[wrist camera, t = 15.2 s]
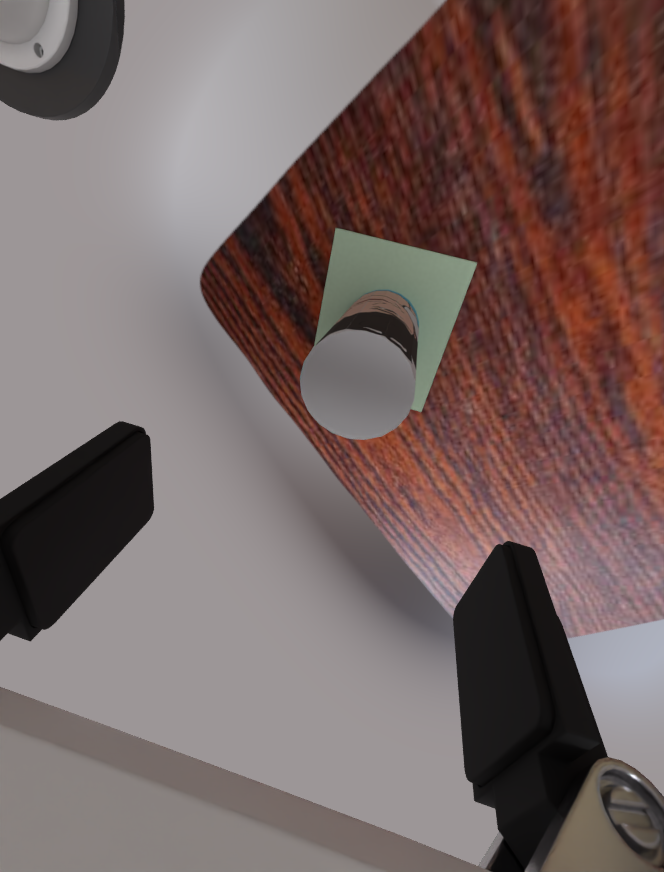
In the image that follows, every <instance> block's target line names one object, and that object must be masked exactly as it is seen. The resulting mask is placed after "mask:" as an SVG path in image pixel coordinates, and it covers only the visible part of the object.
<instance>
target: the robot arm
mask: <svg viewBox="0 0 664 872" xmlns="http://www.w3.org/2000/svg"><path fill="white" fill-rule="evenodd" d="M77 14H78V0H0V64H2V65H4V66H7V67H9V68H12V69H14V70H17V71H21V72H26V73H41V72H43V71H46V70H48V69H51V68H52V67H53V66H54V65H56V64H57V63H58V62H59V61H60V60H61V59H62V57H63V56H64V54H65V53H66V51H67V50H68V48H69V46H70V43H71V40H72V38H73V35H74V31H75V26H76V21H77ZM153 511H154V500H153V481H152V463H151V444H150V437H149V436H148V435H146V432H145V430H144V428H142V427H139V426H136V425H133V424H129V423H126V422H118V423H116V424H114V425H113V426H111V427H109V428H108V429H106V430H105V431H103V432H102V433H100V434H99V435H97V436H96V437H94V438H93V439H91V440H90V441H88V442H87V443H85V444H83V445H82V446H80V447H79V448H77V449H76V450H74V451H73V452H71V453H70V454H68V455H67V456H65V457H64V458H62V459H61V460H59V461H58V462H56V463H54V464H53V465H51V466H50V467H49V468H47V469H45V470H44V471H42V472H41V473H39V474H38V475H36V476H35V477H33V478H32V479H30V480H29V481H27V482H25V483H24V484H22V485H21V486H19V487H18V488H17V489H15V490H13V491H12V492H10V493H9V494H7V495H6V496H4V497H3V498H1V499H0V640H1V639H2V638H3V637H4V636H5V635H6V634H7V633H9V634H12V635H14V636H17V637H20V638H22V639H25V640H28V641H31V640H32V639H33V638H34V637H35V636H36V635H37V634H38V633H39V632H40V631H41V630H42V629H44V630H45V629H48V628H49V627H51V626H52V625H53V624H54V623H55V622H56V621H57V620H58V619H59V618H60V617H61V616H62V615H63V613H65V611H66V610H67V609H68V608H69V607H70V606H71V605H72V604H73V603H74V602H75V600H76V599H77V598H78V597H79V596H80V595H81V594H82V593H83V592H84V591H85V590H86V589H87V587H88V586H89V585H90V584H91V583H92V582H93V581H94V580H95V579H96V578H97V576H99V574H100V573H101V572H102V571H103V570H104V569H105V568H106V567H107V566H108V565H109V564H110V562H111V561H112V560H113V559H114V558H115V557H116V556H117V555H118V554H119V553H120V552H121V550H122V549H123V548H124V547H125V546H126V545H127V544H128V543H129V542H130V541H131V540H132V538H133V537H134V536H135V535H136V534H137V533H138V532H139V531H140V529H142V528H143V526H144V525H145V524H146V523H147V522H148V521H149V520H150V518H151V516H152V514H153ZM453 625H454V638H455V651H456V664H457V677H458V690H459V703H460V716H461V729H462V742H463V755H464V768H465V774H466V777H467V779H468V781H470V782H472V783H473V792H474V801H476V802H478V803H481V804H484V805H487V806H490V807H492V808H495V809H496V817H497V825H498V830H499V833H498V834H497V836H496V838H495V839H494V841H493V843H492V844H491V846H490V847H489V849H488V851H487V853H486V854H485V856H484V857H483V859H482V861H481V862H480V864H479V866H476V865H473V864H471V863H468V862H466V861H463V860H461V859H458V858H456V857H453V856H451V855H448V854H446V853H443V852H441V851H438V850H436V849H433V848H431V847H428V846H426V845H423V844H421V843H418V842H416V841H413V840H411V839H408V838H406V837H403V836H401V835H398V834H395V833H393V832H390V831H387V830H384V829H382V828H379V827H376V826H374V825H371V824H369V823H366V822H363V821H361V820H358V819H355V818H352V817H350V816H347V815H345V814H342V813H340V812H337V811H334V810H331V809H329V808H326V807H323V806H321V805H318V804H316V803H313V802H310V801H308V800H305V799H302V798H300V797H297V796H294V795H292V794H289V793H287V792H284V791H281V790H279V789H276V788H273V787H271V786H268V785H265V784H262V783H260V782H257V781H254V780H252V779H249V778H246V777H244V776H241V775H238V774H236V773H233V772H230V771H228V770H225V769H222V768H219V767H217V766H214V765H211V764H209V763H206V762H203V761H201V760H198V759H195V758H193V757H190V756H187V755H184V754H182V753H179V752H176V751H173V750H171V749H168V748H166V747H163V746H160V745H157V744H155V743H152V742H149V741H147V740H144V739H141V738H138V737H136V736H133V735H130V734H128V733H125V732H122V731H120V730H117V729H114V728H111V727H108V726H106V725H103V724H100V723H98V722H95V721H92V720H89V719H87V718H84V717H81V716H78V715H76V714H73V713H70V712H68V711H65V710H62V709H59V708H57V707H54V706H51V705H48V704H45V703H43V702H40V701H37V700H35V699H32V698H29V697H26V696H24V695H21V694H18V693H15V692H13V691H10V690H7V689H5V688H1V687H0V872H664V796H662V794H661V793H660V792H659V791H658V789H657V788H656V787H655V786H654V785H653V784H652V783H651V782H650V781H649V780H648V779H647V778H646V777H645V776H644V775H642V774H641V773H640V772H639V771H637V770H636V769H635V768H633V767H632V766H630V765H628V764H626V763H624V762H623V761H621V760H617V759H613V758H609V757H608V756H607V753H606V750H605V747H604V744H603V741H602V738H601V736H600V733H599V730H598V727H597V724H596V721H595V718H594V715H593V713H592V710H591V707H590V704H589V701H588V698H587V695H586V692H585V689H584V687H583V684H582V681H581V678H580V675H579V672H578V669H577V666H576V663H575V661H574V658H573V655H572V652H571V649H570V646H569V643H568V640H567V637H566V634H565V632H564V629H563V626H562V623H561V621H560V619H559V617H558V616H557V614H556V611H555V609H554V606H553V603H552V600H551V597H550V594H549V591H548V588H547V585H546V582H545V579H544V576H543V573H542V570H541V567H540V565H539V562H538V559H537V556H536V553H535V551H534V550H533V549H532V548H530V547H527V546H524V545H520V544H517V543H514V542H511V541H507V542H505V543H504V544H503V545H501V544H498V545H496V546H495V548H494V549H493V551H492V552H491V554H490V555H489V557H488V558H487V560H486V561H485V563H484V565H483V566H482V568H481V569H480V571H479V572H478V574H477V575H476V577H475V578H474V580H473V581H472V583H471V584H470V586H469V587H468V589H467V591H466V592H465V594H464V595H463V597H462V598H461V600H460V601H459V603H458V604H457V606H456V608H455V611H454V616H453Z"/></svg>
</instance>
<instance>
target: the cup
mask: <svg viewBox="0 0 664 872" xmlns="http://www.w3.org/2000/svg"><path fill="white" fill-rule="evenodd" d="M418 333H419V320H418V316H417V312H416V310H415V308H414V307H413V305H412V304H411V302H410V301H409V300H408V299H407V298H405V297H404V296H403V295H401V294H400V293H397V292H394V291H391V290H374V291H372V292H369V293H366V294H364V295H363V296H362V297H360V298H359V299H358V300H357V301H355V303H354V304H353V305H352V306H351V307H350V308H349V309H348V310H347V311H346V312H345V313H344V315H343V316H342V317H341V318H340V319H339V320H338V321H337V322H336V323H335V324H334V325H333V327H332V328H331V329H330V330H329V331H328V332H327V333H326V334H325V335H324V336H323V337H322V339H321V340H320V341H319V342H318V343H317V344H316V345H315V346H314V347H313V349H312V350H311V352H310V353H309V355H308V356H307V358H306V359H305V361H304V363H303V368H302V372H301V376H300V385H301V395H302V398H303V400H304V402H305V405H306V407H307V410H308V411H309V412H310V414H311V415H312V416H313V417H314V418H315V420H316V421H317V422H318V423H319V424H320V425H322V426H323V427H324V428H326V429H327V430H329V431H330V432H332V433H334V434H337V435H339V436H342V437H345V438H348V439H362V440H366V439H371V438H375V437H380V436H383V435H384V434H386V433H388V432H390V431H392V430H393V429H395V428H396V427H397V426H398V425H399V424H400V423H401V422H402V421H403V420H404V419H405V418H406V417H407V415H408V413H409V411H410V409H411V406H412V404H413V402H414V396H415V381H416V365H417V349H418Z"/></svg>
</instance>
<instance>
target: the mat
mask: <svg viewBox="0 0 664 872" xmlns="http://www.w3.org/2000/svg"><path fill="white" fill-rule="evenodd" d="M476 265H477V263H476V262H473V261H469V260H465V259H461V258H457V257H453V256H449V255H445V254H441V253H437V252H433V251H429V250H425V249H421V248H417V247H413V246H409V245H405V244H400V243H396V242H392V241H388V240H384V239H380V238H376V237H372V236H368V235H364V234H360V233H356V232H352V231H348V230H344V229H340V228H336V229H335V235H334V240H333V246H332V251H331V257H330V262H329V267H328V273H327V278H326V284H325V289H324V295H323V300H322V305H321V311H320V316H319V322H318V327H317V333H316V338H315V344H314V346H315V345H316V344H317V343H318V342H319V341H320V340H321V339H322V337H323V336H324V335H325V334H326V333H327V332H328V331H329V330H330V329H331V328H332V327H333V325H334V324H335V323H336V322H337V321H338V320H339V319H340V318H341V317H342V316H343V315H344V313H345V312H346V311H347V310H348V309H349V308H350V307H351V306H352V305H353V304H354V303H355V301H357V300H358V299H359V298H360V297H362V296H363V295H364V294H366V293H369V292H372V291H374V290H391V291H394V292H397V293H400V294H401V295H403V296H404V297H405V298H407V299H408V300H409V301H410V302H411V304H412V305H413V307H414V308H415V310H416V312H417V316H418V320H419V333H418V349H417V365H416V381H415V396H414V402H413V404H412V406H411V409H412V410H416V411H419V412H421V411H422V409H423V406H424V403H425V401H426V398H427V396H428V393H429V390H430V388H431V385H432V382H433V380H434V377H435V374H436V372H437V369H438V366H439V364H440V361H441V358H442V356H443V353H444V350H445V348H446V345H447V342H448V340H449V337H450V334H451V332H452V329H453V326H454V324H455V321H456V318H457V316H458V313H459V310H460V308H461V305H462V302H463V300H464V297H465V294H466V292H467V289H468V286H469V284H470V281H471V278H472V276H473V273H474V270H475V268H476Z"/></svg>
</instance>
